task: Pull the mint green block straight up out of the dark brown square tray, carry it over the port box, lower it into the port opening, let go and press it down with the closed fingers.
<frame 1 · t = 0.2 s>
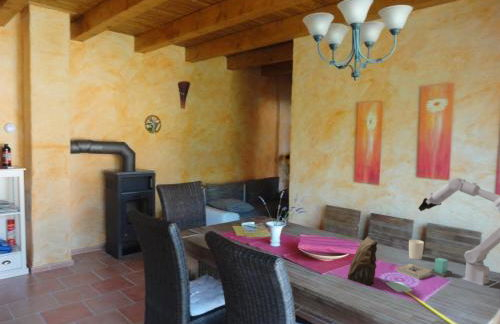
hand: (423, 208, 197), 31 cm above the table, tool tilted 45°, fingers open, 7 cm apart
port: (414, 274, 184), on the table
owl: (360, 280, 174), on the table
beige tapered cup: (415, 258, 209), on the table
dark brown square tray: (440, 274, 185), on the table
mint green block: (440, 273, 185), point 1 cm above the table, touching dark brown square tray
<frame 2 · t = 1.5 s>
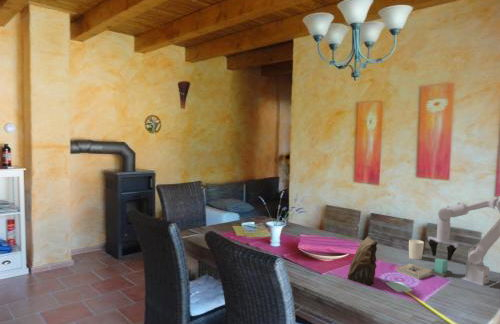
hand: (441, 257, 184), 9 cm above the table, tool pointing down, fingers open, 7 cm apart
nothing on the table moved.
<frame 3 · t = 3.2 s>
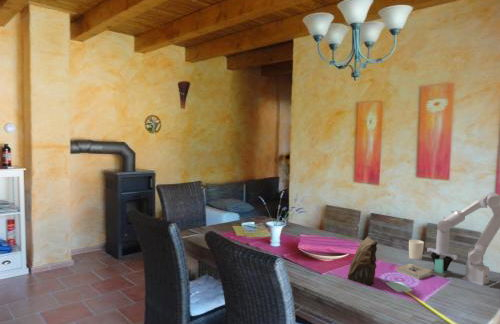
hand: (440, 269, 184), 2 cm above the table, tool pointing down, fingers closed on mint green block, 4 cm apart
mint green block: (440, 273, 185), point 1 cm above the table, touching gripper, dark brown square tray
everything else where it was.
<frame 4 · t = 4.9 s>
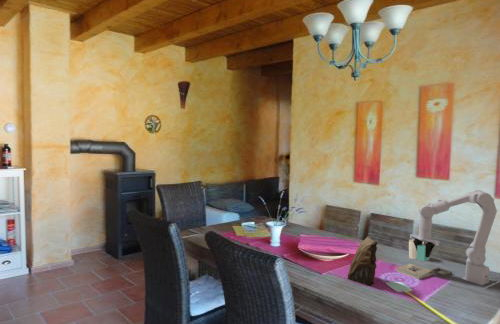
hand: (423, 255, 183), 10 cm above the table, tool pointing down, fingers closed on mint green block, 4 cm apart
mint green block: (423, 259, 184), point 8 cm above the table, touching gripper
everything else where it was.
when the fingers open (4 cm above the table, at t = 7.1 s): mint green block drops 1 cm, resting on port.
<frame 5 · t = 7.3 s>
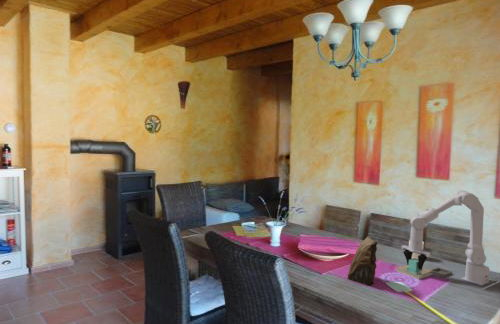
hand: (414, 267, 183), 4 cm above the table, tool pointing down, fingers open, 5 cm apart
mint green block: (414, 273, 184), resting on port
everything else where it was.
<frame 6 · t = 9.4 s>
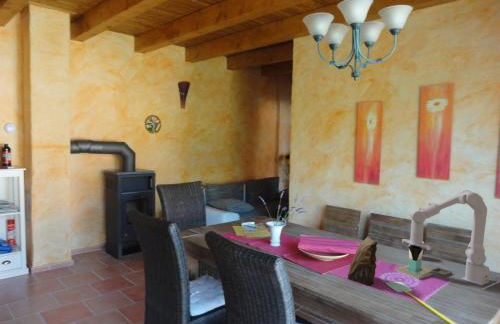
hand: (414, 260, 183), 7 cm above the table, tool pointing down, fingers closed, pressing on mint green block
mint green block: (414, 273, 184), resting on port, touching gripper
everything else where it was.
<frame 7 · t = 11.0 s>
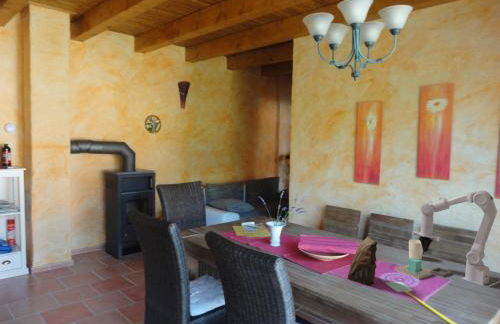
hand: (425, 251, 191), 9 cm above the table, tool pointing down, fingers closed
mint green block: (414, 273, 184), resting on port
everything else where it was.
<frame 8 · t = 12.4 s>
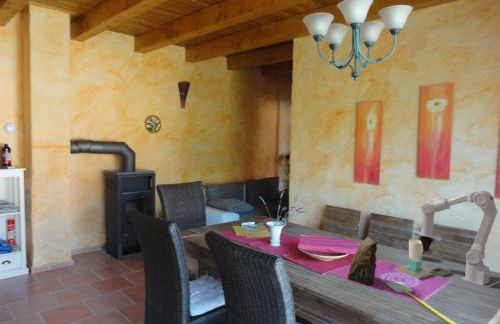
hand: (425, 251, 192), 9 cm above the table, tool pointing down, fingers closed
nothing on the table moved.
at the end: mint green block 0.1 cm off-centre on the port, point 0.2 cm above the port's base; mint green block tilted 0°; the gripper is holding nothing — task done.
